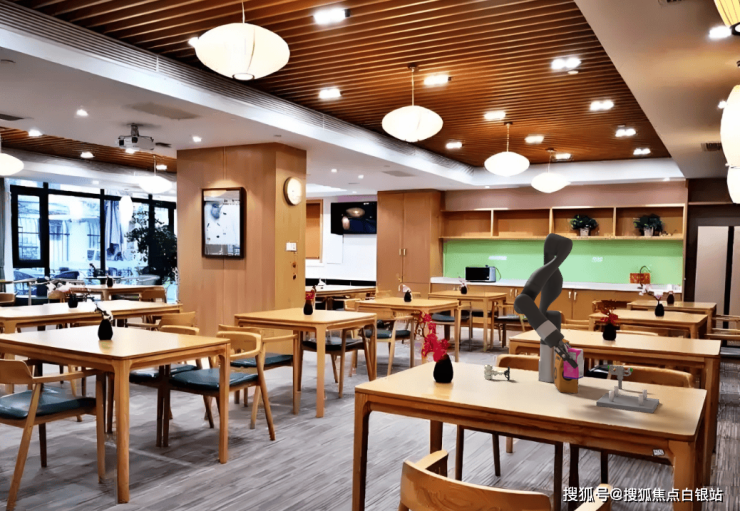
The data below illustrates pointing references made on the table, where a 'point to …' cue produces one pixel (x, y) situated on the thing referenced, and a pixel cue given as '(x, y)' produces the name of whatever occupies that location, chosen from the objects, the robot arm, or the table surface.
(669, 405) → the table surface
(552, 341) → the robot arm
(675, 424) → the table surface
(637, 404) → the peg cradle
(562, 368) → the coffee package
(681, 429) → the table surface
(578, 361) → the supplement box
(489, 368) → the valve
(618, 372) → the mechanical component
